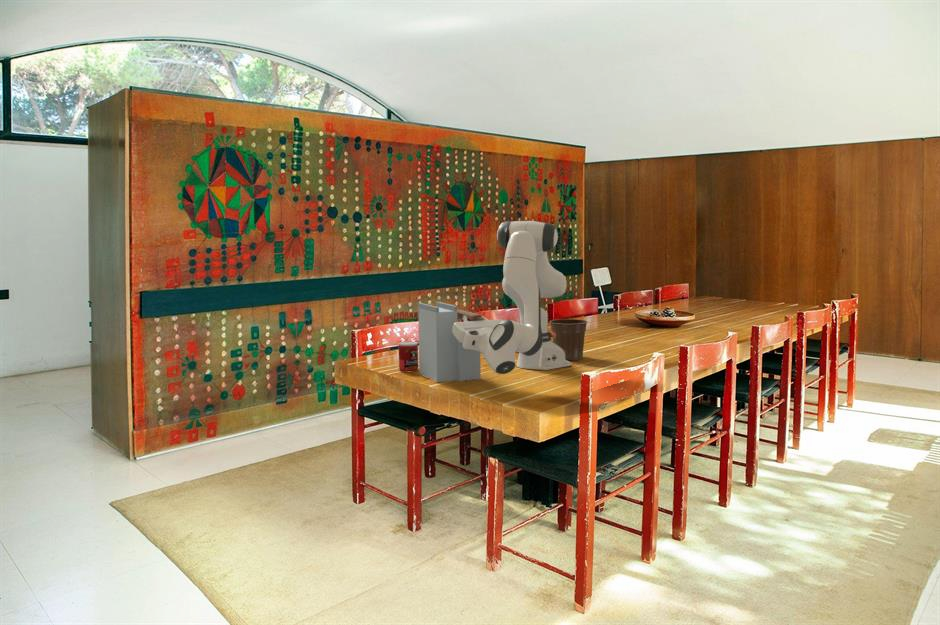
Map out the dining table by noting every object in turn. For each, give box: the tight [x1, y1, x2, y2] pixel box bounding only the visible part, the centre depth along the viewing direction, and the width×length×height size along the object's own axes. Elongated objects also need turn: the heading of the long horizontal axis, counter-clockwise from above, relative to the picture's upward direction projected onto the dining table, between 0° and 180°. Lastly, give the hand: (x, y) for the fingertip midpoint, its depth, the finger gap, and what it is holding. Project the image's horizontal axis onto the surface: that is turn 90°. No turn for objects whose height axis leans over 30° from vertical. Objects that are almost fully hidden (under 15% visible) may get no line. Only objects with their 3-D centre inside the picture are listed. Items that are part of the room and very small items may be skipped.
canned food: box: [398, 341, 419, 372], centre depth 284 cm, size 8×8×11 cm
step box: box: [417, 301, 482, 383], centre depth 271 cm, size 17×19×28 cm
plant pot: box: [548, 318, 589, 361], centre depth 307 cm, size 16×16×16 cm
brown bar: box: [457, 308, 483, 321], centre depth 268 cm, size 4×22×2 cm, turn 26°
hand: (471, 316), depth 261 cm, fingers closed on brown bar, 4 cm apart
